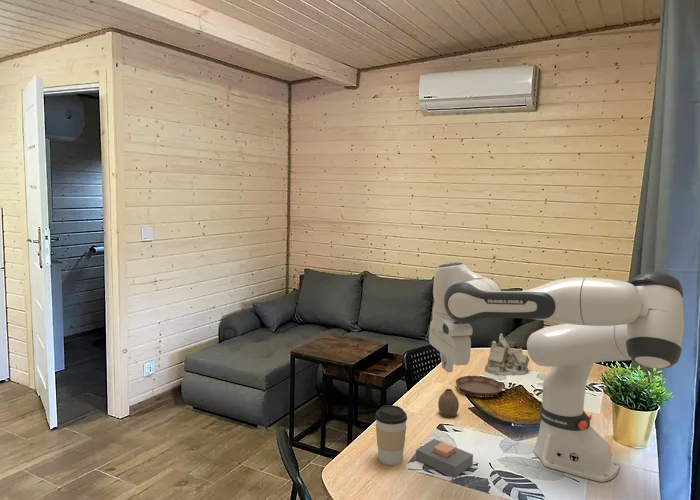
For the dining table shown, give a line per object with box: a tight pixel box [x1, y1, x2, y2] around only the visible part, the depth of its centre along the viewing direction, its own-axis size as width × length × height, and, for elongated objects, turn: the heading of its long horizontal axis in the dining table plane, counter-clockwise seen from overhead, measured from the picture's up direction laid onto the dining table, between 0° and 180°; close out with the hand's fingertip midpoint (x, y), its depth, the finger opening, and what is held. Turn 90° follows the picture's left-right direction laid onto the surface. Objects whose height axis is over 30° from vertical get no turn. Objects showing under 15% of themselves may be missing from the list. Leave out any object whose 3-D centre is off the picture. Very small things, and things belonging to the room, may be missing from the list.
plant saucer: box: [455, 375, 504, 395], centre depth 197 cm, size 18×18×3 cm
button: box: [433, 441, 456, 458], centre depth 145 cm, size 4×4×3 cm
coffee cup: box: [375, 404, 408, 466], centre depth 146 cm, size 9×9×15 cm
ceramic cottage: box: [484, 333, 530, 376], centre depth 217 cm, size 16×16×15 cm
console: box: [415, 438, 474, 478], centre depth 145 cm, size 13×9×3 cm
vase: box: [437, 388, 460, 418], centre depth 175 cm, size 7×7×9 cm
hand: (447, 370), depth 142 cm, fingers closed
